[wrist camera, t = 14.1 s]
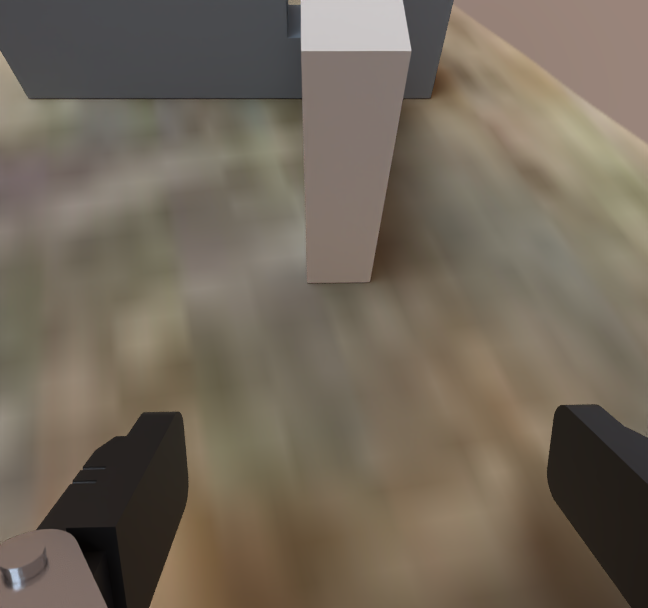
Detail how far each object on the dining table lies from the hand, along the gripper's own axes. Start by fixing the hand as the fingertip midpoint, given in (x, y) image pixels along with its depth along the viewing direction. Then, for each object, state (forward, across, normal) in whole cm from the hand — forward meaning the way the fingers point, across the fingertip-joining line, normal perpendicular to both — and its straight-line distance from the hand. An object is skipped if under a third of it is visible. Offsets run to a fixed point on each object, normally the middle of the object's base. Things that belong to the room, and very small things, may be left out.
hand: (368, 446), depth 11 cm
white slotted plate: (+16, 0, -7) cm, 17 cm away
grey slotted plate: (+18, +5, -10) cm, 22 cm away
